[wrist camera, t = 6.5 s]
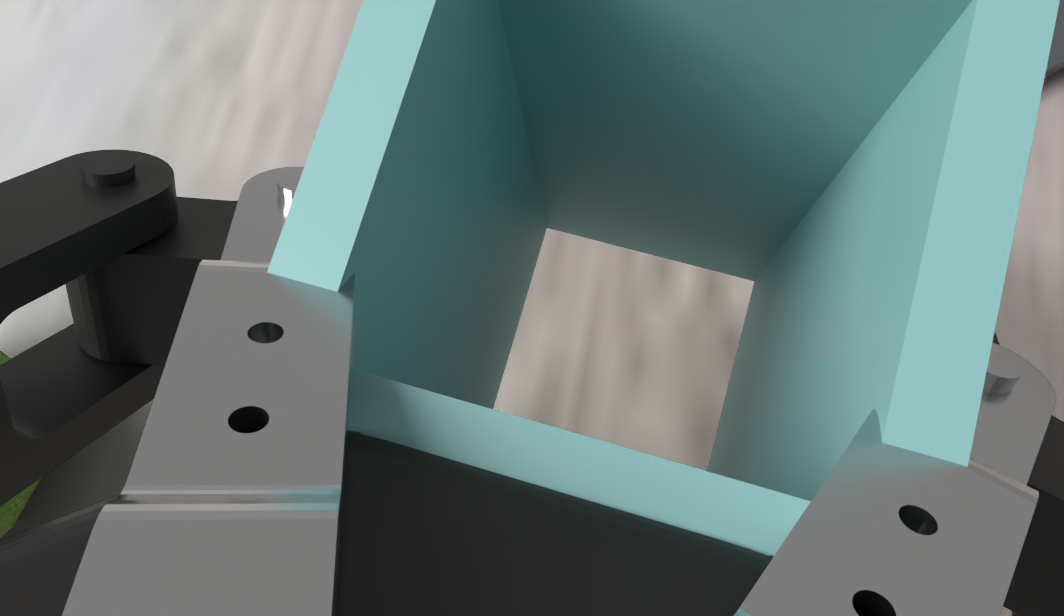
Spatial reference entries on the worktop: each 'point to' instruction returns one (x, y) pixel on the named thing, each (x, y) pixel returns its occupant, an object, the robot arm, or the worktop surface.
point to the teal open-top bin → (679, 220)
